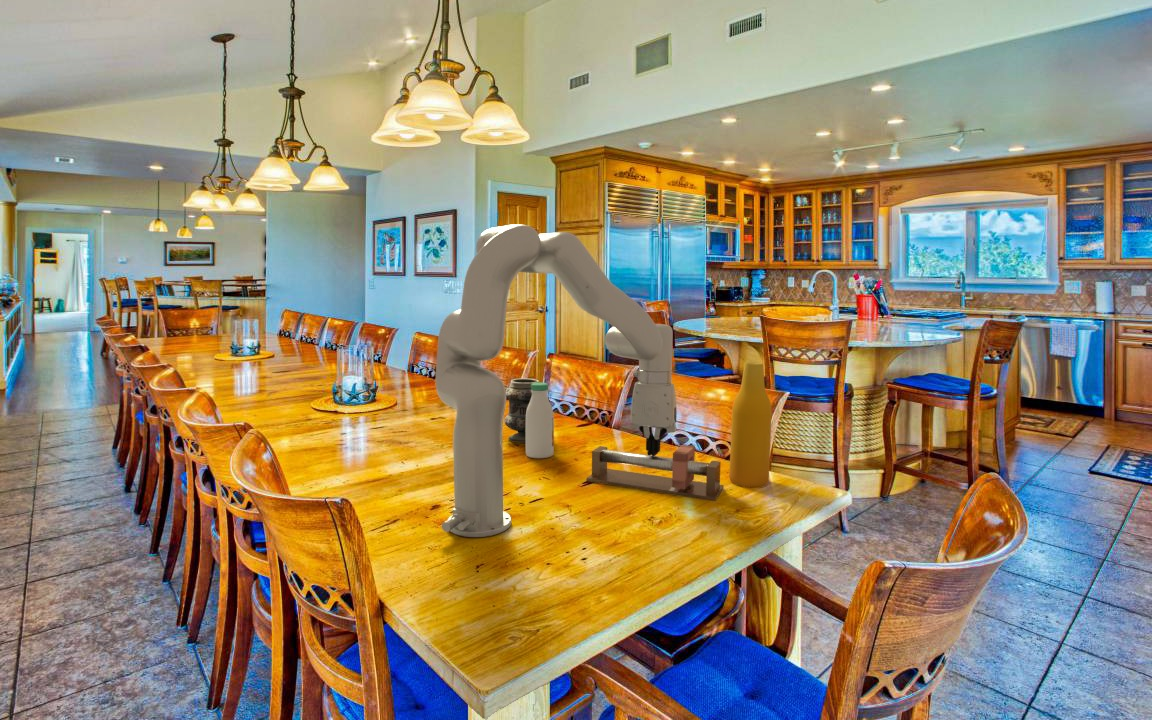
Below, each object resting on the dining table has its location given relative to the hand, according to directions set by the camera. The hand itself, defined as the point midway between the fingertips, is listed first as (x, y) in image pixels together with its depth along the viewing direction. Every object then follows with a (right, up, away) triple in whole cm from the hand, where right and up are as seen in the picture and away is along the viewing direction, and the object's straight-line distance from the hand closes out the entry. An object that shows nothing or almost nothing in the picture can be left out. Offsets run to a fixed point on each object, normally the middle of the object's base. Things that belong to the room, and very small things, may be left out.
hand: (652, 454), depth 148 cm
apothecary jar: (-34, -2, +42) cm, 54 cm away
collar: (+7, -6, -2) cm, 10 cm away
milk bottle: (-28, -4, +25) cm, 38 cm away
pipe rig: (0, -7, +1) cm, 8 cm away
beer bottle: (+24, -7, +4) cm, 25 cm away
